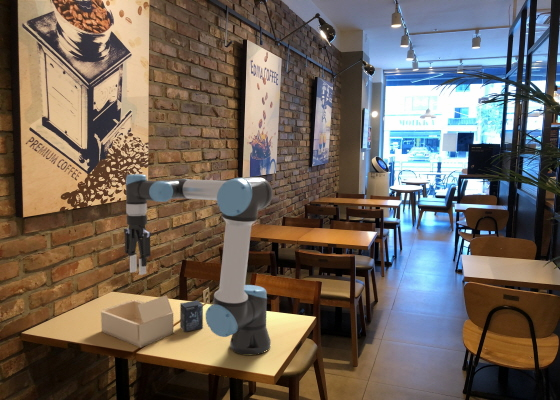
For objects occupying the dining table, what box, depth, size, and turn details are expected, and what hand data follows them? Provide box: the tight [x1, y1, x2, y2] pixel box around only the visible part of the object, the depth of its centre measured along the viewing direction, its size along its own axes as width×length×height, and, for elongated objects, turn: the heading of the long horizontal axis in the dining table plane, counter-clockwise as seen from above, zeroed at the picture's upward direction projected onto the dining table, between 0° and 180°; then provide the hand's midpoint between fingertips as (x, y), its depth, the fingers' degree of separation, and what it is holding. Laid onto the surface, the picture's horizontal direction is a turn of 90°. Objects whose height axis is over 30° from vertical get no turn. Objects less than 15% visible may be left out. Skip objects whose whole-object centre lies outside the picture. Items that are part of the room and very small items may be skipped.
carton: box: [100, 299, 175, 348], centre depth 177 cm, size 25×17×9 cm
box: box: [179, 299, 204, 333], centre depth 182 cm, size 8×6×11 cm
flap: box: [137, 295, 173, 323], centre depth 170 cm, size 1×14×7 cm, turn 145°
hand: (138, 272), depth 174 cm, fingers open, 5 cm apart
